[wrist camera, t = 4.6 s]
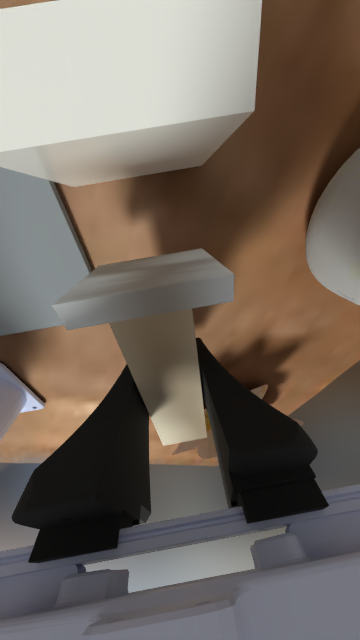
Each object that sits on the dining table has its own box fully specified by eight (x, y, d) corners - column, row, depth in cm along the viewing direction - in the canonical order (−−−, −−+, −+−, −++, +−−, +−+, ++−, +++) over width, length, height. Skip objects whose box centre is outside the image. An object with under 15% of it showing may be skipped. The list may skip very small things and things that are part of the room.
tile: (73, 186, 10) (-35, 157, 5) (54, 137, 9) (-124, 13, 3) (201, 165, 11) (254, 111, 5) (198, 114, 9) (265, -46, 4)
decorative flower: (181, 446, 28) (193, 539, 19) (160, 395, 24) (161, 479, 15) (267, 419, 28) (321, 496, 19) (259, 364, 25) (321, 427, 15)
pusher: (146, 385, 16) (141, 449, 11) (98, 265, 10) (51, 305, 5) (210, 374, 16) (228, 433, 11) (202, 248, 10) (234, 274, 6)
